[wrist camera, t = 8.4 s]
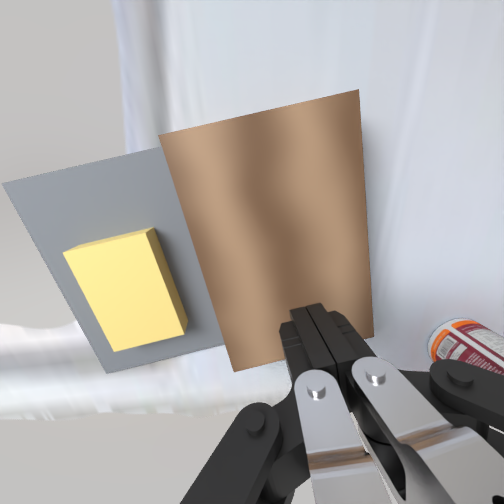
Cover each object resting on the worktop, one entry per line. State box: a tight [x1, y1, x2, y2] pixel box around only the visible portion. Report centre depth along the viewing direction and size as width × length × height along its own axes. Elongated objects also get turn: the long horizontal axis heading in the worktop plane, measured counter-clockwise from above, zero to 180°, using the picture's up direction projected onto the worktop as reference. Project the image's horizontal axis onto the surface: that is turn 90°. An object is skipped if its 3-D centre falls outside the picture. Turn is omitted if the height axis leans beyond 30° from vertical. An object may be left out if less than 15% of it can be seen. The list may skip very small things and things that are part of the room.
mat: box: [2, 147, 225, 374], centre depth 20 cm, size 12×18×1 cm, turn 13°
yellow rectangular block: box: [63, 227, 188, 352], centre depth 19 cm, size 6×9×2 cm, turn 13°
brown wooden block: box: [158, 89, 374, 372], centre depth 18 cm, size 12×18×4 cm, turn 13°
